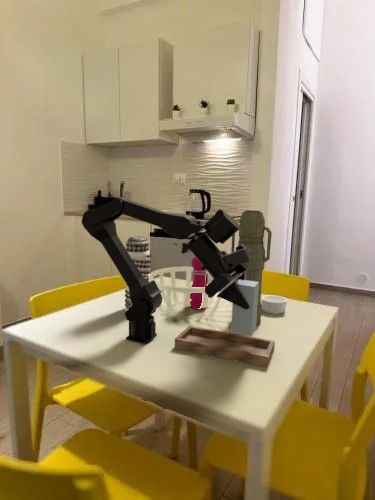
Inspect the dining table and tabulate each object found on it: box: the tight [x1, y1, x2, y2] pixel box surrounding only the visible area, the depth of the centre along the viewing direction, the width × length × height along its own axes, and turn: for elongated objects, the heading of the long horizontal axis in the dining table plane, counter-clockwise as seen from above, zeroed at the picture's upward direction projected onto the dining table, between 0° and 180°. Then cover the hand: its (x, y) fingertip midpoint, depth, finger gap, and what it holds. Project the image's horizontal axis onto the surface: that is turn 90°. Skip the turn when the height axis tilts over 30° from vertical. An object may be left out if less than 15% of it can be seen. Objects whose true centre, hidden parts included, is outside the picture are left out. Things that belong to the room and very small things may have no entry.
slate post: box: [230, 279, 259, 337], centre depth 84 cm, size 5×5×12 cm
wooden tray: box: [174, 325, 276, 368], centre depth 90 cm, size 24×10×2 cm, turn 68°
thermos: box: [230, 209, 273, 327], centre depth 107 cm, size 9×12×35 cm
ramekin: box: [261, 294, 288, 315], centre depth 121 cm, size 9×9×4 cm
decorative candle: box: [124, 235, 152, 312], centre depth 117 cm, size 9×9×25 cm
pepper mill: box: [189, 256, 210, 310], centre depth 122 cm, size 7×7×20 cm
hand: (250, 305), depth 84 cm, fingers closed on slate post, 5 cm apart
